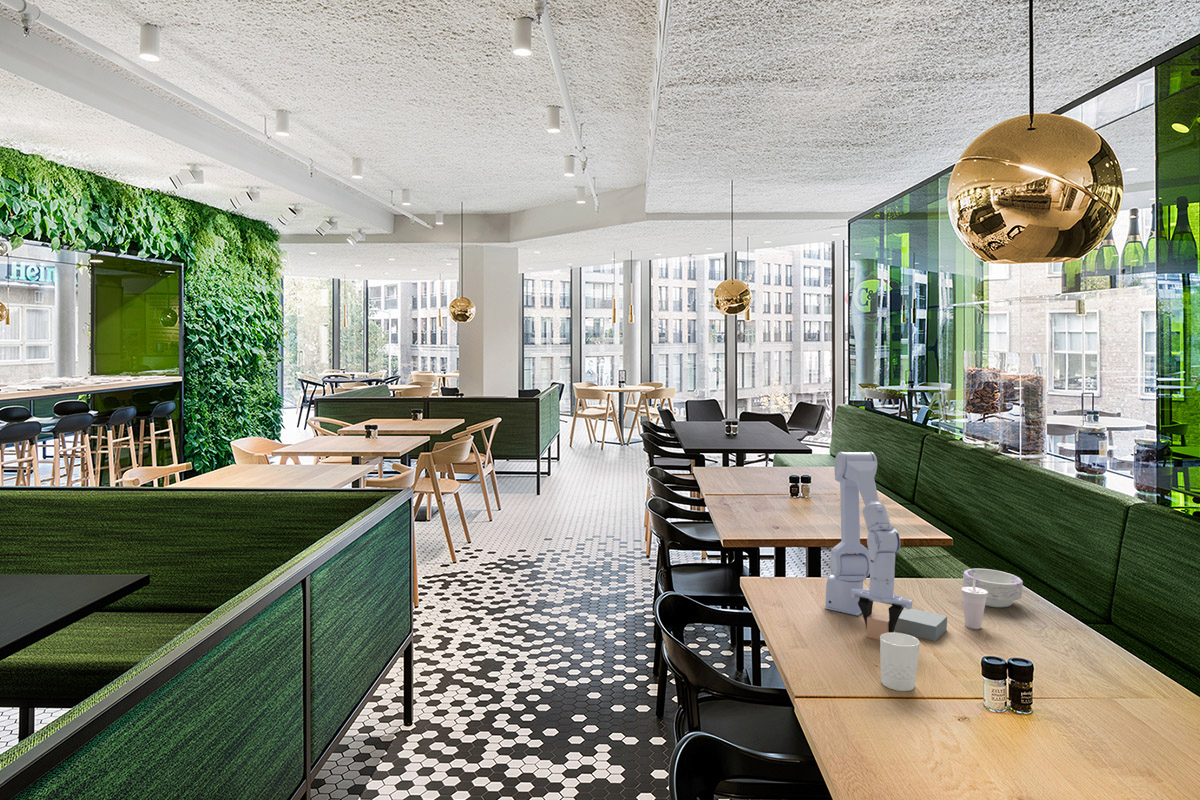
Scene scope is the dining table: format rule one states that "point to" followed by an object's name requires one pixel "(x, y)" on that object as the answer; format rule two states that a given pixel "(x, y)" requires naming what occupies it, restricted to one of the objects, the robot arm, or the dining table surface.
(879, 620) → the terracotta block
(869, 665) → the dining table surface
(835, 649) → the dining table surface
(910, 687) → the white cup
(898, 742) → the dining table surface
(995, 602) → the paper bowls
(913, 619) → the slate plinth
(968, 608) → the smoothie
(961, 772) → the dining table surface
